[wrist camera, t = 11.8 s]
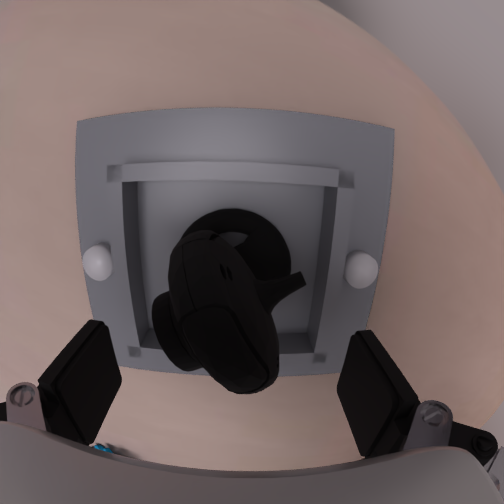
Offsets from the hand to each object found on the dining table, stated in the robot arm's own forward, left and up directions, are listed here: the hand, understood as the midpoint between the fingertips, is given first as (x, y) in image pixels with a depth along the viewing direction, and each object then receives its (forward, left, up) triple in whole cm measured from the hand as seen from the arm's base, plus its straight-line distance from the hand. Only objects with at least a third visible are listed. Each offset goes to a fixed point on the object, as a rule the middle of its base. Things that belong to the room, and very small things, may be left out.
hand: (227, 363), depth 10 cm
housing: (0, -1, -10) cm, 10 cm away
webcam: (0, -1, -10) cm, 10 cm away
